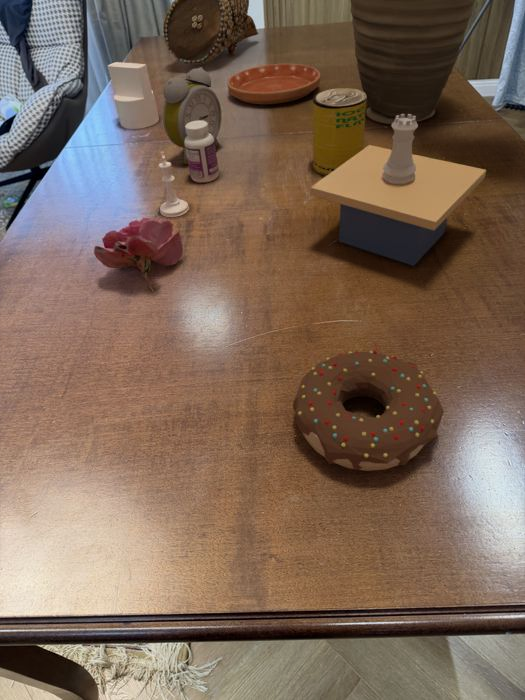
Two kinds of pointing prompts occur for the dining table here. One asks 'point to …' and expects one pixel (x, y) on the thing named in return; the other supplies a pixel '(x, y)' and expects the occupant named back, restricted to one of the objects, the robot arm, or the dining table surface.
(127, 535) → the dining table surface
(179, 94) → the alarm clock
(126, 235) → the flower
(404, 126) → the rook chess piece
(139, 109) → the cylinder with rectangular tab
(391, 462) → the donut
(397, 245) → the board box
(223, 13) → the basket
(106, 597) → the dining table surface
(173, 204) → the chess piece
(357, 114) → the beverage can
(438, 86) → the vase
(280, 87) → the saucer
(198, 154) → the pill bottle
